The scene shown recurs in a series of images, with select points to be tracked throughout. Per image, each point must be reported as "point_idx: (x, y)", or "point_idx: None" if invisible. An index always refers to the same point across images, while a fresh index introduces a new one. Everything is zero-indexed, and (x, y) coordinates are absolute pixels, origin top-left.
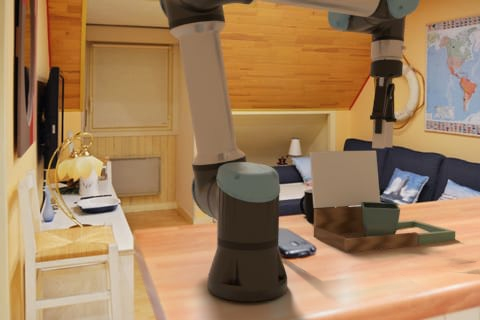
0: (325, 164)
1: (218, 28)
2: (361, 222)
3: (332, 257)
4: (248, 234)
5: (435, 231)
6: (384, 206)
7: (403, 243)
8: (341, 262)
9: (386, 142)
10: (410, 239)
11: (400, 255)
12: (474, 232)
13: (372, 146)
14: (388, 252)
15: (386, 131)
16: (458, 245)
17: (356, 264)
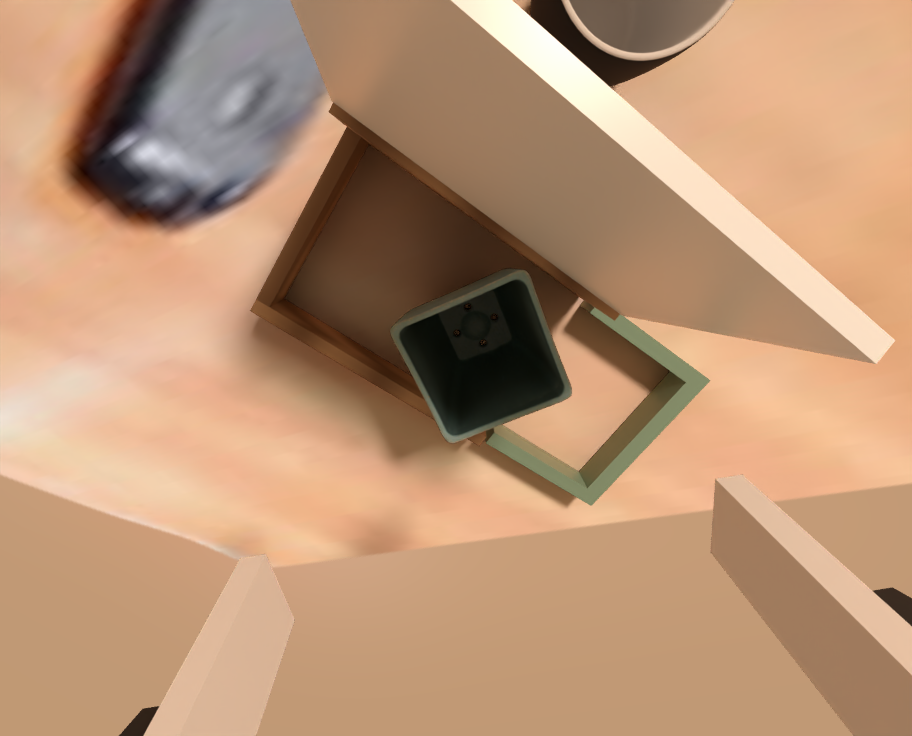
0: (394, 38)
1: None
2: (523, 255)
3: (193, 289)
4: None
5: (613, 449)
6: (550, 355)
7: None
8: (171, 328)
9: (740, 547)
10: None
11: (346, 421)
12: None
13: (235, 570)
14: (353, 390)
15: (835, 649)
16: (539, 501)
17: (186, 364)
